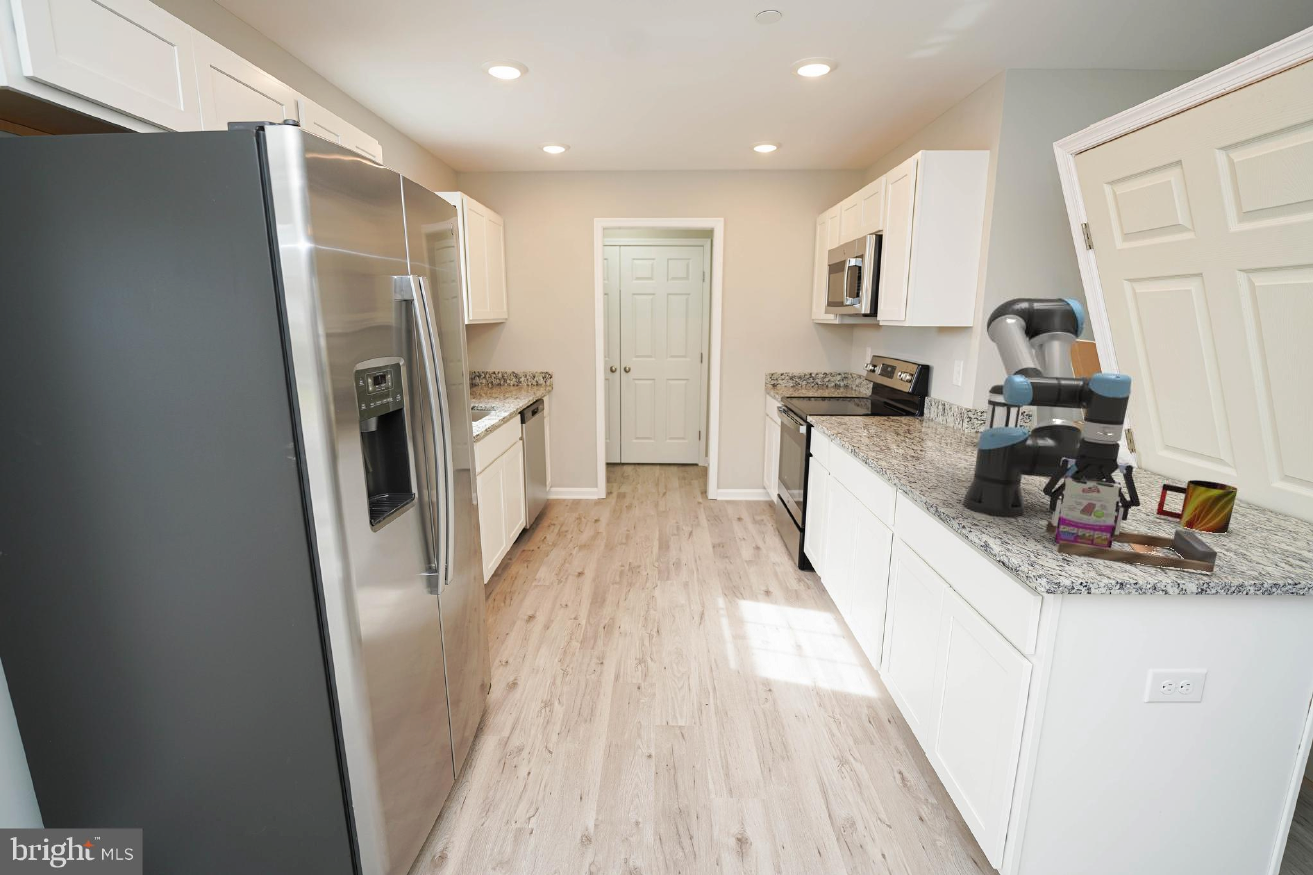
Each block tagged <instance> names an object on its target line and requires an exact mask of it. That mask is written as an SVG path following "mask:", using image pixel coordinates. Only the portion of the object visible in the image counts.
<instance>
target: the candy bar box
mask: <svg viewBox="0 0 1313 875" xmlns="http://www.w3.org/2000/svg"><path fill="white" fill-rule="evenodd" d="M1063 482H1064V484H1063V486H1064V489H1063V494H1062V495H1061V496H1060V499H1061V500H1062V501H1061V507H1060V512H1059V518H1058V524H1057V528H1056V533H1055V535H1054V543H1056V544H1059V541H1066V542H1072V543H1079V544H1086V545H1093V546H1100V547H1106V548H1112V546H1113V542H1114V541H1113V535H1114V529H1115V524H1116V518H1117V512H1118V507H1119V505H1120V495H1121V491H1122V489H1123V486H1122V484H1121V482H1120V481H1115V482H1116V484H1115V483H1108V482H1107V481H1106V480H1105V479H1104V480H1097V479H1086V478H1085V477H1083V478H1082V479H1081V480H1074V479H1071V478H1070V476H1068V475H1065V478H1064V479H1063Z"/></svg>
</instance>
